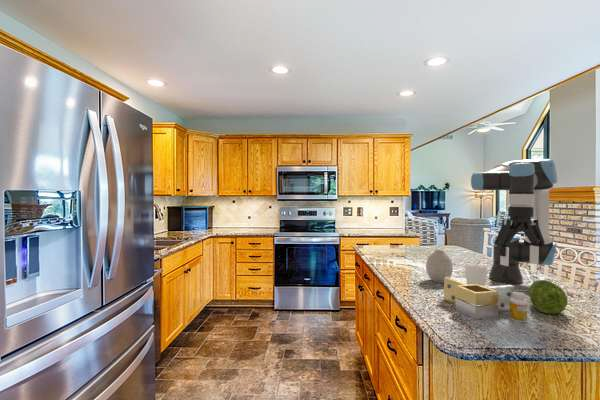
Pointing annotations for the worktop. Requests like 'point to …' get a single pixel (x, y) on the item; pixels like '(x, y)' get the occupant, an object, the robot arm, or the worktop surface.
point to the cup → (476, 274)
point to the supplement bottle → (518, 307)
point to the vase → (439, 266)
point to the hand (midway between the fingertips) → (519, 264)
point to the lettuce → (547, 297)
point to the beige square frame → (468, 293)
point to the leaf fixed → (489, 309)
